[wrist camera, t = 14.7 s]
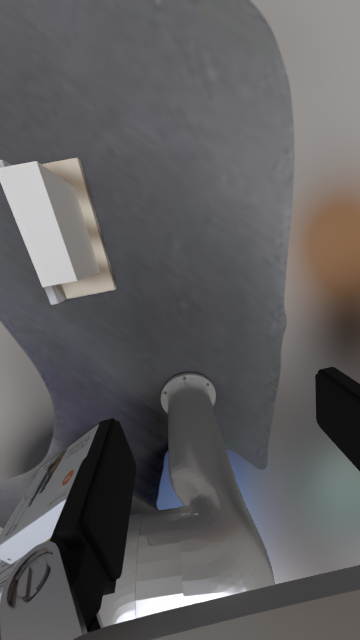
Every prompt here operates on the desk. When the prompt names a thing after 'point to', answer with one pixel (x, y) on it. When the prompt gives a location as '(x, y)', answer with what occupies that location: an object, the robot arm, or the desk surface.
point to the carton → (49, 223)
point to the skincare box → (43, 501)
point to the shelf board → (105, 279)
